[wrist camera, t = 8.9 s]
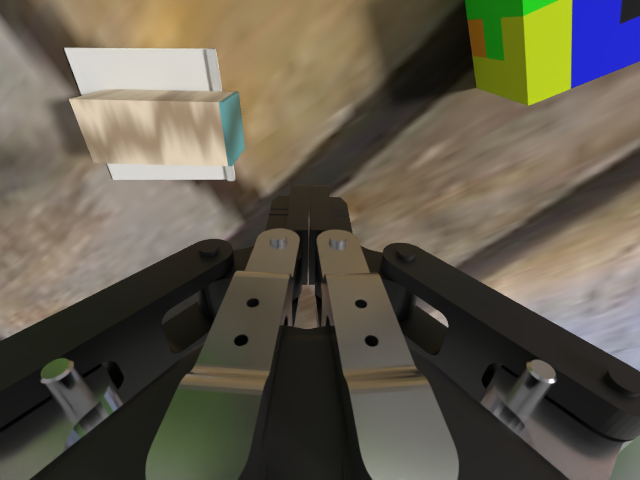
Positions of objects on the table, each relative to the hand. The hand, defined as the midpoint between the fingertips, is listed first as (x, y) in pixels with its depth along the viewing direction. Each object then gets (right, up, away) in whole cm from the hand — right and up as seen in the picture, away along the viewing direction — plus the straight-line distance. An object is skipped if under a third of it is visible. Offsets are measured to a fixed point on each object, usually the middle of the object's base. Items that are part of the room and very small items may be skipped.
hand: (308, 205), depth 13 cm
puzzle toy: (+20, +21, +18) cm, 34 cm away
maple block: (-8, +10, +20) cm, 24 cm away
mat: (-18, +12, +23) cm, 31 cm away
